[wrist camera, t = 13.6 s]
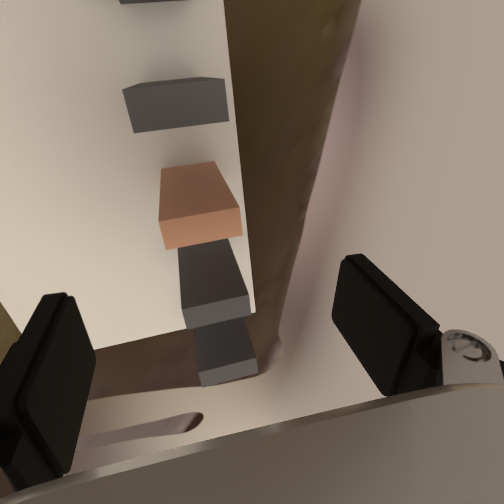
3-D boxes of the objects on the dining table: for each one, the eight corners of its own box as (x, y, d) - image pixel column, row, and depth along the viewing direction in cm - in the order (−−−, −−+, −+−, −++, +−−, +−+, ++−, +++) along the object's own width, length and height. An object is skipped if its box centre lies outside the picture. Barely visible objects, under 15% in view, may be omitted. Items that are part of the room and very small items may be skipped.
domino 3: (176, 235, 32) (181, 309, 22) (223, 226, 33) (249, 294, 23) (180, 251, 33) (186, 329, 23) (225, 242, 34) (251, 314, 24)
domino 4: (189, 288, 36) (198, 372, 26) (231, 279, 36) (256, 357, 26) (192, 301, 37) (202, 387, 27) (233, 292, 37) (258, 372, 27)
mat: (-258, -110, 17) (-280, -119, 16) (209, -111, 21) (210, -119, 20) (43, 355, 37) (40, 362, 36) (253, 307, 41) (255, 312, 40)
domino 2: (160, 169, 28) (158, 221, 18) (214, 160, 29) (239, 207, 19) (166, 189, 29) (166, 250, 19) (217, 181, 30) (243, 235, 20)
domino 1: (139, 83, 25) (122, 89, 15) (201, 76, 26) (224, 78, 15) (146, 110, 26) (133, 133, 16) (205, 103, 27) (229, 121, 16)
